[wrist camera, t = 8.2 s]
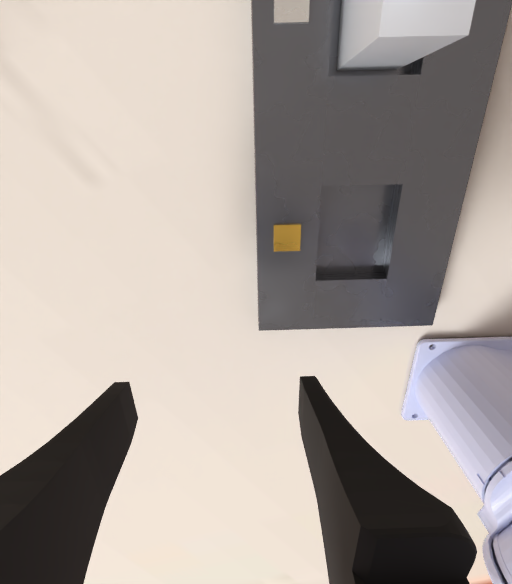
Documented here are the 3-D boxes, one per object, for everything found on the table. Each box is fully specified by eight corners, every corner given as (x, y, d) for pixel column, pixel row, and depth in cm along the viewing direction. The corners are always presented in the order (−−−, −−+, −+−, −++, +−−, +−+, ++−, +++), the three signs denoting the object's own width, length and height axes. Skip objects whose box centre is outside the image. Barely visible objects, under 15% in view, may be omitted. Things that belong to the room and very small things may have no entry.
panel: (536, -192, 13) (574, -236, 12) (421, 314, 24) (434, 326, 22) (247, -188, 13) (246, -231, 12) (258, 319, 23) (259, 332, 22)
